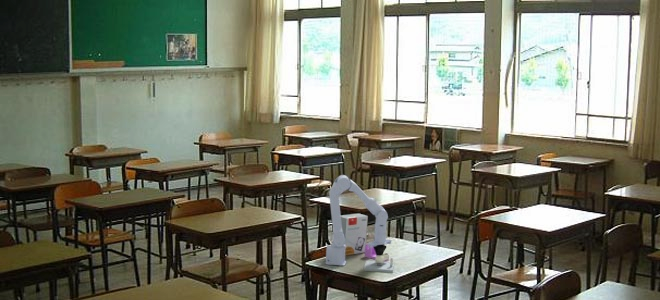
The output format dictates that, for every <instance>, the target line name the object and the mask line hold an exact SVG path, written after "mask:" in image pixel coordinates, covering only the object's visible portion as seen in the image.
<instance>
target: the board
mask: <svg viewBox="0 0 660 300" xmlns="http://www.w3.org/2000/svg"><path fill="white" fill-rule="evenodd" d="M375 261H376V260H375ZM375 261H374V260H366V261H365V264H364V267H363V271H366V272H367V271H368V272H381V273H391V274H392V273H393V272H394V268H395V262H394V257H390V259H389V261H390V262H388V261H384V262H383V263H376V262H375Z"/></svg>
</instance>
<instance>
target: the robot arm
mask: <svg viewBox="0 0 660 300" xmlns="http://www.w3.org/2000/svg"><path fill="white" fill-rule="evenodd" d="M347 190H348V191H349V192H353V193H354V194H356V195H357V196H358V198H359V199H361V201H363V202H364V207H365V208H366V209H367V210H368V211H369V212H370V213H371V214H372V215H373V216H374V217H375V223H374V237H373V241H370V242H368V243H367V244H368V247H371V248H372V247H373V248H374V250H375V252H376V256H377V255H383V254H385V253H384V252H385V250H386V249H387V244H388V245H391V244H392V239H390V238H389V239H388V238H387V226H388V225H387V221H388V219H389V216H388V212H387V210H385V208H384V207H383V206H382V205H380V203H378V200H377V199H376V198H373V197H369V196H368V195H367V194H366V193H365V192H364V190H363V189H361V187H360V186H358V184H357V183H356V182H354V181H353V180H352V179H351V178H349V176H347V175H345V174H341V175H340V174H339V176H338V177H336V179H334V182H333V184H332V186H331V188H330V189H329V192H328V195H329V203H330V204H329V205H330V214H331V223H332V235H331V240H332V243H330V245H329V244H328V245H327V246H326V249H325V250H326V251H325V252H326V253H325V265H328V266H329V265H330V266H342V267H343V266H346V263H347V260H346V255H345V246H346V245H345V242H346V240H345V237H344V234H343V231H342V223H341V206H340V196H341V195H342V193H344V192H345V191H347Z"/></svg>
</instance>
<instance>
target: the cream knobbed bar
mask: <svg viewBox="0 0 660 300" xmlns="http://www.w3.org/2000/svg"><path fill="white" fill-rule="evenodd" d="M389 257H390V254H389V253H386V252H385V253H383V255H377V256H376V259H375V262H376V263H383V262H385V261H384V260H386V259H389V260H390V258H389Z"/></svg>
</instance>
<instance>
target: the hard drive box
mask: <svg viewBox="0 0 660 300" xmlns="http://www.w3.org/2000/svg"><path fill="white" fill-rule="evenodd" d="M368 217H369V216H368V215H365V214H361V213H351V214H343V215H341V223H342V231H343V234H344V237H345V240H346V242H345V245H346V246H345V256H351V255H355V254H356V255H358V254H363V253H364V254H365V246H366V245H367V233H368V220H369V219H368Z"/></svg>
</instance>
